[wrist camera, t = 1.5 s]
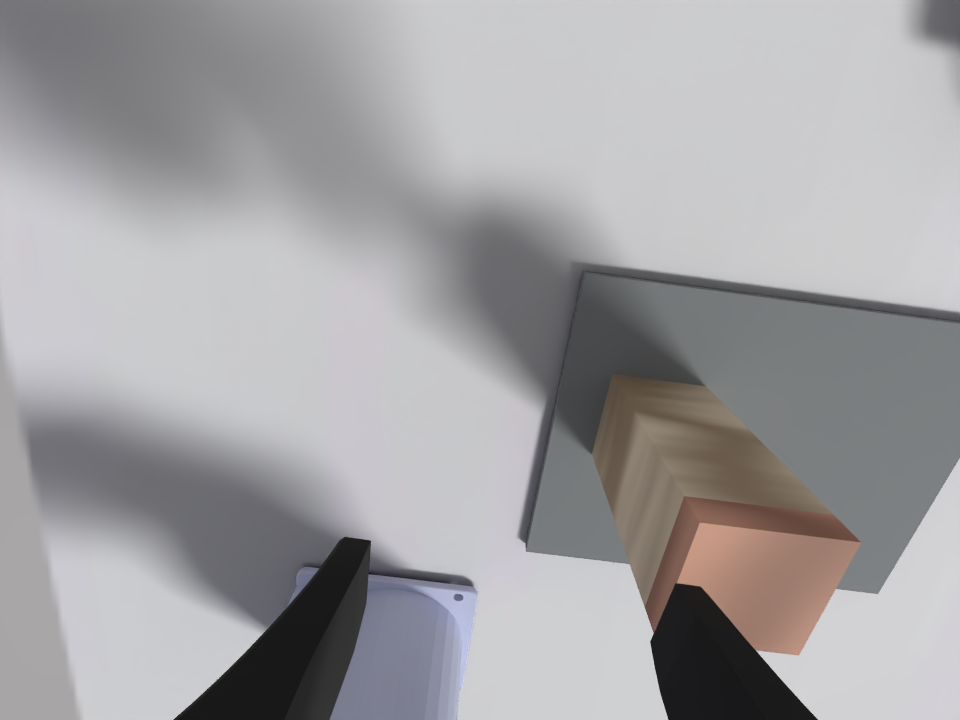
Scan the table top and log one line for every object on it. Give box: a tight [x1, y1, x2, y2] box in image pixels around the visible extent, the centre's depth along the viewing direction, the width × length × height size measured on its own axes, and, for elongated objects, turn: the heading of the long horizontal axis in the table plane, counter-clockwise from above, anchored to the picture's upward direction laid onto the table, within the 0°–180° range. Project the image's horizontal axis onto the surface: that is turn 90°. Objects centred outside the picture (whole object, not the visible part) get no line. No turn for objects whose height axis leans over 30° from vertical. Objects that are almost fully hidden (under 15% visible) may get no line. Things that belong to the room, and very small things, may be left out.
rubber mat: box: [526, 271, 960, 594], centre depth 21 cm, size 18×14×1 cm
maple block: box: [592, 374, 861, 655], centre depth 16 cm, size 4×4×9 cm
